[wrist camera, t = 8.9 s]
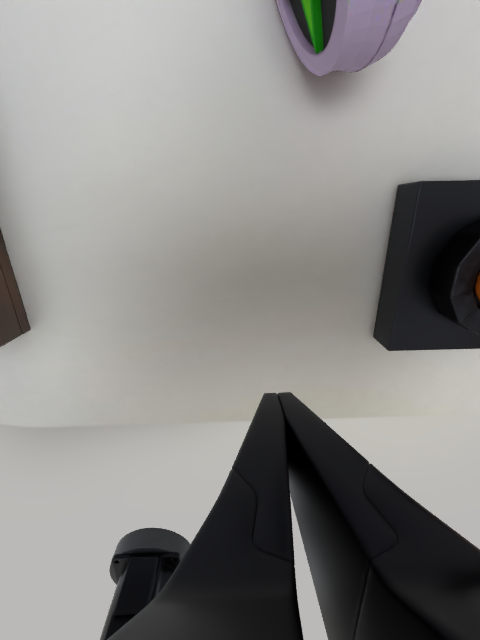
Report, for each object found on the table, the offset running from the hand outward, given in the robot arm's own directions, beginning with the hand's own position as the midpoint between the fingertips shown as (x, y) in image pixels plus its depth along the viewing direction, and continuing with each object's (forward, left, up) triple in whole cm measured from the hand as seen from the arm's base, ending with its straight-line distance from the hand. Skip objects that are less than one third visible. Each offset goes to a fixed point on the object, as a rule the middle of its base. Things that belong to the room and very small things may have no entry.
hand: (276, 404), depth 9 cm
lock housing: (+2, -14, -11) cm, 18 cm away
